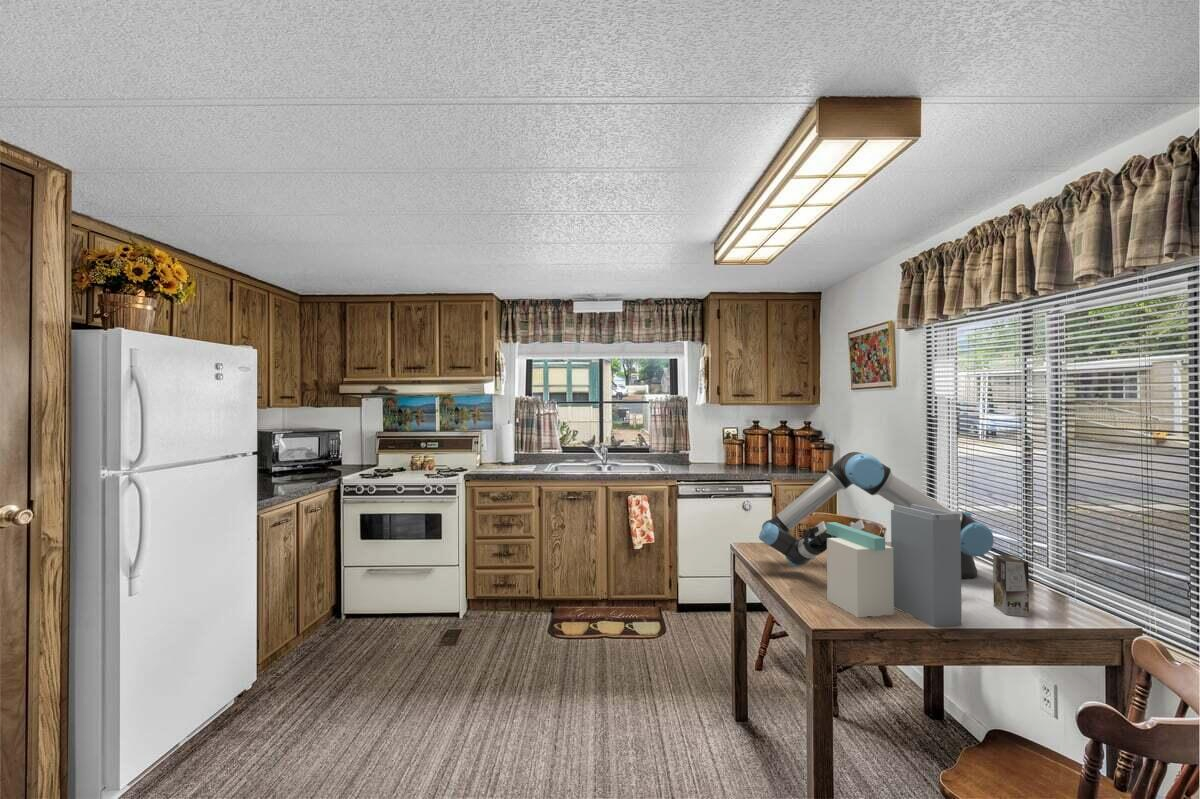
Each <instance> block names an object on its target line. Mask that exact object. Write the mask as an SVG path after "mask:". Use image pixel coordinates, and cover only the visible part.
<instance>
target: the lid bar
mask: <svg viewBox="0 0 1200 799" xmlns="http://www.w3.org/2000/svg"><path fill="white" fill-rule="evenodd" d="M825 526H826V530H825V531H826V533H828V534H830V535H831V536H832V537H833V536H836V537H839V538H841V539H844V540H847V541H850V542H852V543H855V544H858V545H861V546H863V547H866V548H869V549H872V550H874V551H877V550H885V545H886V537H882V536H879V535H876V534H874V533H871V532H868V531H865V530H863V529H862V530H859V529H855V528H852V527H850V525H846V524H842V523H839V522H836V521H834V522H833V521H832V522H831V521H829V522H825Z"/></svg>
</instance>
